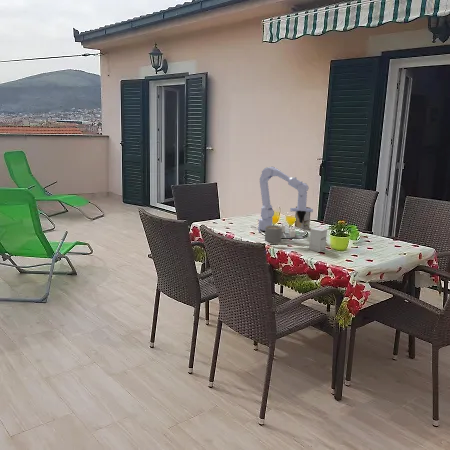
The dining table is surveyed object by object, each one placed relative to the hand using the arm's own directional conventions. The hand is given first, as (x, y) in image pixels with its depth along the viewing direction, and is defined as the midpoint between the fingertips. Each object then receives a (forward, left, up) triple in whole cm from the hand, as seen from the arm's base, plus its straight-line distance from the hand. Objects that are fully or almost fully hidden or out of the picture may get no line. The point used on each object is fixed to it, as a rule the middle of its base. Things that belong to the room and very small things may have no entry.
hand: (300, 222), depth 302 cm
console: (-7, -1, -10) cm, 12 cm away
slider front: (-6, -8, -8) cm, 13 cm away
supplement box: (+6, -31, -10) cm, 33 cm away
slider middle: (-6, -1, -8) cm, 10 cm away
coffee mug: (-18, -18, -10) cm, 28 cm away
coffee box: (+5, +23, -10) cm, 25 cm away
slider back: (-11, +6, -8) cm, 15 cm away
